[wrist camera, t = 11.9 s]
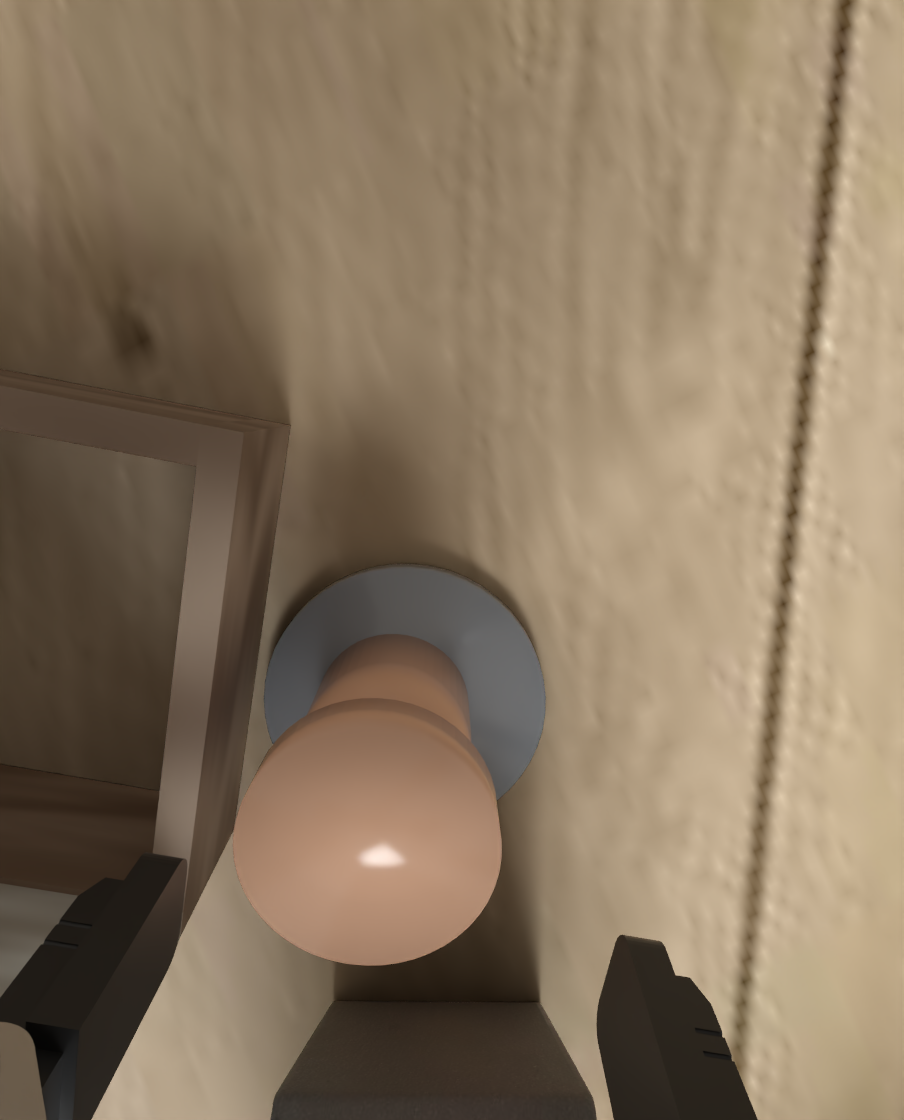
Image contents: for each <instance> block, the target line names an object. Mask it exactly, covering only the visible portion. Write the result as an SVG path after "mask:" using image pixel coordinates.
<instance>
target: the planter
mask: <svg viewBox="0 0 904 1120" xmlns="http://www.w3.org/2000/svg"><path fill="white" fill-rule="evenodd" d="M271 1120H597V1118H596V1111H595V1105H594V1101H593V1097H592V1095H591V1093H590V1091H589V1090H588V1088H587V1086H586V1084H585V1082H584V1081H583V1079H582V1077H581V1075H580V1073H579V1072H578V1070H577V1068H576V1066H575V1064H574V1063H573V1061H572V1059H571V1057H570V1055H569V1054H568V1052H567V1050H566V1048H565V1046H564V1045H563V1043H562V1041H561V1039H560V1037H559V1036H558V1034H557V1032H556V1030H555V1028H554V1027H553V1025H552V1023H551V1021H550V1019H549V1018H548V1016H547V1014H546V1012H545V1010H544V1009H543V1007H542V1005H541V1004H540V1003H537V1002H417V1001H334V1002H333V1003H332V1004H331V1006H330V1007H329V1009H328V1011H327V1012H326V1014H325V1015H324V1017H323V1019H322V1020H321V1022H320V1024H319V1025H318V1027H317V1028H316V1030H315V1032H314V1033H313V1035H312V1036H311V1038H310V1040H309V1041H308V1043H307V1045H306V1046H305V1048H304V1049H303V1051H302V1053H301V1054H300V1056H299V1057H298V1059H297V1061H296V1062H295V1064H294V1066H293V1067H292V1069H291V1070H290V1072H289V1074H288V1075H287V1077H286V1078H285V1080H284V1082H283V1083H282V1085H281V1087H280V1088H279V1090H278V1092H277V1093H276V1095H275V1098H274V1102H273V1108H272V1114H271Z"/></svg>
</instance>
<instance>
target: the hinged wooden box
mask: <svg viewBox="0 0 904 1120" xmlns="http://www.w3.org/2000/svg"><path fill="white" fill-rule="evenodd" d="M290 426H291V425H286V424H281V423H276V422H270V421H265V420H260V419H255V418H250V417H245V416H239V415H234V414H229V413H224V412H219V411H214V410H209V409H203V408H198V407H193V406H188V405H183V404H178V403H173V402H167V401H162V400H157V399H152V398H147V397H142V396H137V395H131V394H126V393H121V392H116V391H111V390H106V389H101V388H95V387H90V386H85V385H80V384H75V383H70V382H65V381H59V380H54V379H49V378H44V377H39V376H34V375H29V374H23V373H18V372H13V371H8V370H3V369H0V429H2V430H7V431H12V432H17V433H23V434H28V435H33V436H38V437H44V438H49V439H54V440H59V441H65V442H70V443H75V444H80V445H86V446H91V447H96V448H102V449H107V450H112V451H117V452H123V453H128V454H133V455H138V456H144V457H149V458H154V459H159V460H165V461H170V462H175V463H180V464H186V465H191V466H196V476H195V484H194V493H193V502H192V511H191V520H190V529H189V537H188V546H187V555H186V564H185V573H184V581H183V590H182V599H181V608H180V617H179V626H178V634H177V643H176V652H175V661H174V670H173V678H172V687H171V696H170V705H169V714H168V723H167V731H166V740H165V749H164V758H163V767H162V775H161V784H160V791H155V790H149V789H143V788H137V787H131V786H125V785H119V784H113V783H107V782H102V781H96V780H90V779H84V778H78V777H72V776H66V775H60V774H54V773H48V772H42V771H36V770H30V769H24V768H18V767H12V766H6V765H0V997H1V996H2V994H3V993H4V992H5V991H6V989H7V988H8V987H9V985H10V984H11V983H12V981H13V980H14V979H15V978H16V976H17V975H18V974H19V972H20V971H21V970H22V968H23V967H24V966H25V964H26V963H27V962H28V961H29V959H30V958H31V957H32V955H33V954H34V953H35V951H36V950H37V949H38V947H39V946H40V945H41V944H42V945H43V943H44V941H45V938H46V937H47V936H48V934H49V933H50V932H51V930H52V929H53V928H54V927H55V925H56V924H59V921H60V919H61V917H62V916H63V915H64V913H65V912H66V911H67V910H68V908H69V907H70V906H71V904H72V903H73V902H74V900H75V899H76V898H77V896H78V895H80V894H81V893H83V892H84V891H86V890H87V889H89V888H90V887H92V886H93V885H95V884H96V883H98V882H99V881H101V880H102V879H104V878H105V877H107V878H112V879H118V880H124V879H125V878H126V877H127V875H128V874H129V872H130V871H131V869H132V868H133V866H134V865H135V864H136V862H137V861H138V859H139V858H140V857H141V855H142V854H143V853H145V852H148V853H154V854H160V855H166V856H172V857H177V858H183V859H186V860H187V876H186V885H185V894H184V903H183V912H182V921H181V929H180V935H179V938H180V936H181V934H182V932H183V930H184V928H185V926H186V924H187V922H188V920H189V918H190V916H191V914H192V912H193V910H194V908H195V906H196V904H197V902H198V900H199V898H200V896H201V894H202V892H203V890H204V888H205V886H206V884H207V882H208V880H209V878H210V876H211V874H212V872H213V870H214V868H215V866H216V864H217V862H218V860H219V858H220V856H221V854H222V852H223V850H224V848H225V846H226V844H227V842H228V840H229V838H230V836H231V834H232V832H233V830H234V824H235V816H236V809H237V802H238V795H239V788H240V781H241V774H242V767H243V760H244V752H245V745H246V738H247V731H248V724H249V717H250V710H251V703H252V696H253V688H254V681H255V674H256V667H257V660H258V653H259V646H260V639H261V632H262V625H263V617H264V610H265V603H266V596H267V589H268V582H269V575H270V568H271V561H272V553H273V546H274V539H275V532H276V525H277V518H278V511H279V504H280V497H281V489H282V482H283V475H284V468H285V461H286V454H287V447H288V440H289V433H290ZM178 940H179V939H178Z"/></svg>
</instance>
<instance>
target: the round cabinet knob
mask: <svg viewBox="0 0 904 1120" xmlns="http://www.w3.org/2000/svg"><path fill="white" fill-rule="evenodd" d="M233 853H234V862H235V867H236V871H237V875H238V878H239V881H240V883H241V886H242V888H243V891H244V893H245V894H246V896H247V898H248V900H249V901H250V903H251V905H252V906H253V908H254V909H255V910H256V912H257V913H258V914H259V916H260V917H261V918H262V919H263V920H264V921H265V922H266V923H267V924H268V925H269V926H270V927H271V928H272V929H273V930H274V931H275V932H277V933H278V934H279V935H280V936H282V937H283V938H284V939H285V940H287V941H289V942H290V943H292V944H294V945H295V946H297V947H298V948H300V949H302V950H305V951H307V952H309V953H311V954H313V955H316V956H319V957H322V958H325V959H328V960H331V961H336V962H340V963H345V964H353V965H363V966H371V965H388V964H396V963H401V962H405V961H409V960H413V959H416V958H419V957H421V956H424V955H427V954H429V953H431V952H433V951H435V950H437V949H439V948H441V947H443V946H445V945H446V944H448V943H449V942H451V941H452V940H454V939H455V938H457V937H458V936H459V935H460V934H461V933H462V932H464V931H465V930H466V929H467V928H468V927H469V926H470V925H471V924H472V923H473V922H474V920H475V919H476V918H477V917H478V916H479V915H480V913H481V912H482V910H483V909H484V907H485V906H486V904H487V903H488V901H489V899H490V897H491V895H492V892H493V890H494V888H495V885H496V882H497V879H498V876H499V872H500V865H501V859H502V840H501V832H500V824H499V816H498V808H497V800H496V793H495V788H494V784H493V781H492V777H491V774H490V772H489V770H488V768H487V766H486V763H485V761H484V760H483V758H482V757H481V755H480V753H479V752H478V750H477V749H476V747H475V746H474V745H473V744H472V743H471V728H470V714H469V700H468V693H467V689H466V685H465V682H464V680H463V677H462V675H461V673H460V671H459V670H458V668H457V667H456V665H455V664H454V663H453V661H452V660H451V659H450V658H449V657H448V656H447V655H446V654H445V653H444V652H443V651H441V650H440V649H438V648H437V647H436V646H434V645H432V644H430V643H428V642H427V641H424V640H422V639H419V638H416V637H412V636H408V635H401V634H383V635H376V636H373V637H369V638H366V639H363V640H361V641H358V642H357V643H355V644H353V645H351V646H349V647H348V648H347V649H346V650H344V651H343V652H342V653H341V654H340V655H339V656H338V657H337V658H336V659H335V660H334V661H333V662H332V664H331V665H330V666H329V668H328V670H327V672H326V673H325V675H324V677H323V680H322V682H321V684H320V686H319V689H318V691H317V693H316V695H315V697H314V700H313V702H312V704H311V706H310V709H309V711H308V713H307V715H306V716H305V717H303V718H301V719H300V720H298V721H297V722H296V723H294V724H293V725H292V726H290V727H289V728H288V729H287V730H286V731H285V732H284V733H283V734H282V735H281V736H280V737H279V738H278V739H277V740H276V741H275V743H274V744H273V745H272V747H271V748H270V749H269V751H268V752H267V754H266V756H265V758H264V759H263V761H262V763H261V765H260V767H259V769H258V771H257V773H256V775H255V777H254V778H253V780H252V782H251V784H250V786H249V788H248V790H247V792H246V794H245V796H244V798H243V800H242V803H241V805H240V808H239V811H238V813H237V817H236V822H235V826H234V834H233Z"/></svg>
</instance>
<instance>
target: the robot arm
mask: <svg viewBox="0 0 904 1120" xmlns="http://www.w3.org/2000/svg"><path fill="white" fill-rule="evenodd" d="M186 876H187V860H186V859H183V858H177V857H172V856H166V855H160V854H154V853H148V852H145V853H143V854H142V855H141V857H140V858H139V859H138V861H137V862H136V864H135V865H134V866H133V868H132V869H131V871H130V872H129V874H128V875H127V877H126V878H125V879H124V880H118V879H112V878H107V877H105V878H104V879H102V880H101V881H99V882H98V883H96V884H95V885H93V886H92V887H90V888H89V889H87V890H86V891H84V892H83V893H81V894H80V895H78V896H77V898H76V899H75V900H74V902H73V903H72V904H71V906H70V907H69V908H68V910H67V911H66V912H65V913H64V915H63V916H62V917H61V919H60V921H59V924H56V925H55V927H54V928H53V929H52V930H51V932H50V933H49V934H48V936H47V937H46V938H45V941H44V943H43V945H42V944H41V945H40V946H39V947H38V949H37V950H36V951H35V953H34V954H33V955H32V957H31V958H30V959H29V961H28V962H27V963H26V964H25V966H24V967H23V968H22V970H21V971H20V972H19V974H18V975H17V976H16V978H15V979H14V980H13V981H12V983H11V984H10V985H9V987H8V988H7V989H6V991H5V992H4V993H3V994H2V996H1V997H0V1120H91V1119H92V1117H93V1115H94V1113H95V1111H96V1109H97V1107H98V1105H99V1103H100V1101H101V1099H102V1097H103V1095H104V1093H105V1092H106V1090H107V1088H108V1086H109V1084H110V1082H111V1080H112V1078H113V1076H114V1074H115V1072H116V1070H117V1068H118V1066H119V1064H120V1062H121V1060H122V1058H123V1056H124V1054H125V1052H126V1050H127V1049H128V1047H129V1045H130V1043H131V1041H132V1039H133V1037H134V1035H135V1033H136V1031H137V1029H138V1027H139V1025H140V1023H141V1021H142V1019H143V1017H144V1015H145V1013H146V1011H147V1009H148V1008H149V1006H150V1004H151V1002H152V1000H153V998H154V996H155V994H156V992H157V990H158V988H159V986H160V984H161V982H162V980H163V978H164V976H165V974H166V972H167V970H168V968H169V966H170V964H171V961H172V959H173V956H174V953H175V950H176V947H177V943H178V939H179V935H180V929H181V921H182V912H183V903H184V894H185V885H186ZM597 1038H598V1044H599V1049H600V1054H601V1059H602V1063H603V1068H604V1073H605V1078H606V1083H607V1088H608V1092H609V1097H610V1102H611V1107H612V1112H613V1117H614V1120H758V1119H757V1117H756V1114H755V1112H754V1110H753V1107H752V1105H751V1102H750V1100H749V1097H748V1095H747V1092H746V1090H745V1087H744V1085H743V1082H742V1080H741V1077H740V1075H739V1072H738V1070H737V1067H736V1065H735V1063H734V1062H733V1061H732V1059H731V1056H732V1055H731V1053H730V1050H729V1048H728V1045H727V1043H726V1040H725V1038H723V1037H722V1030H721V1028H720V1025H719V1023H718V1020H717V1018H716V1016H715V1013H714V1011H713V1008H712V1006H711V1004H710V1002H709V1001H708V1000H707V999H706V997H705V996H704V995H703V994H702V992H701V991H700V990H699V989H698V987H697V986H696V985H695V984H694V982H693V981H692V980H691V979H690V978H688V977H682V976H676V975H675V973H674V970H673V968H672V965H671V962H670V959H669V957H668V954H667V951H666V948H665V946H664V945H663V943H662V942H660V941H656V940H650V939H644V938H638V937H632V936H626V935H620V936H619V937H618V938H617V941H616V943H615V946H614V950H613V953H612V957H611V960H610V964H609V968H608V971H607V975H606V978H605V982H604V985H603V989H602V992H601V996H600V999H599V1004H598V1010H597Z"/></svg>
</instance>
